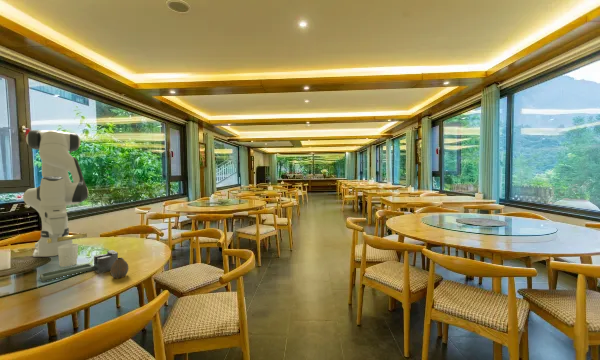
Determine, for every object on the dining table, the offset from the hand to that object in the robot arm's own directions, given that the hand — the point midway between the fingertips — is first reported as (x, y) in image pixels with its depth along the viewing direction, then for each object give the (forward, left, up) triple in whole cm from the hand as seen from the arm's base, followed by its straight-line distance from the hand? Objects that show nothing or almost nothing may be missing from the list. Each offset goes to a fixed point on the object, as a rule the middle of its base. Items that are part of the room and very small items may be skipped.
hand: (53, 241), depth 120 cm
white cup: (-16, +8, -17) cm, 24 cm away
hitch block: (+6, +18, -16) cm, 25 cm away
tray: (0, +5, -16) cm, 17 cm away
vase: (+21, +19, -17) cm, 33 cm away
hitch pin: (0, +5, 0) cm, 5 cm away
